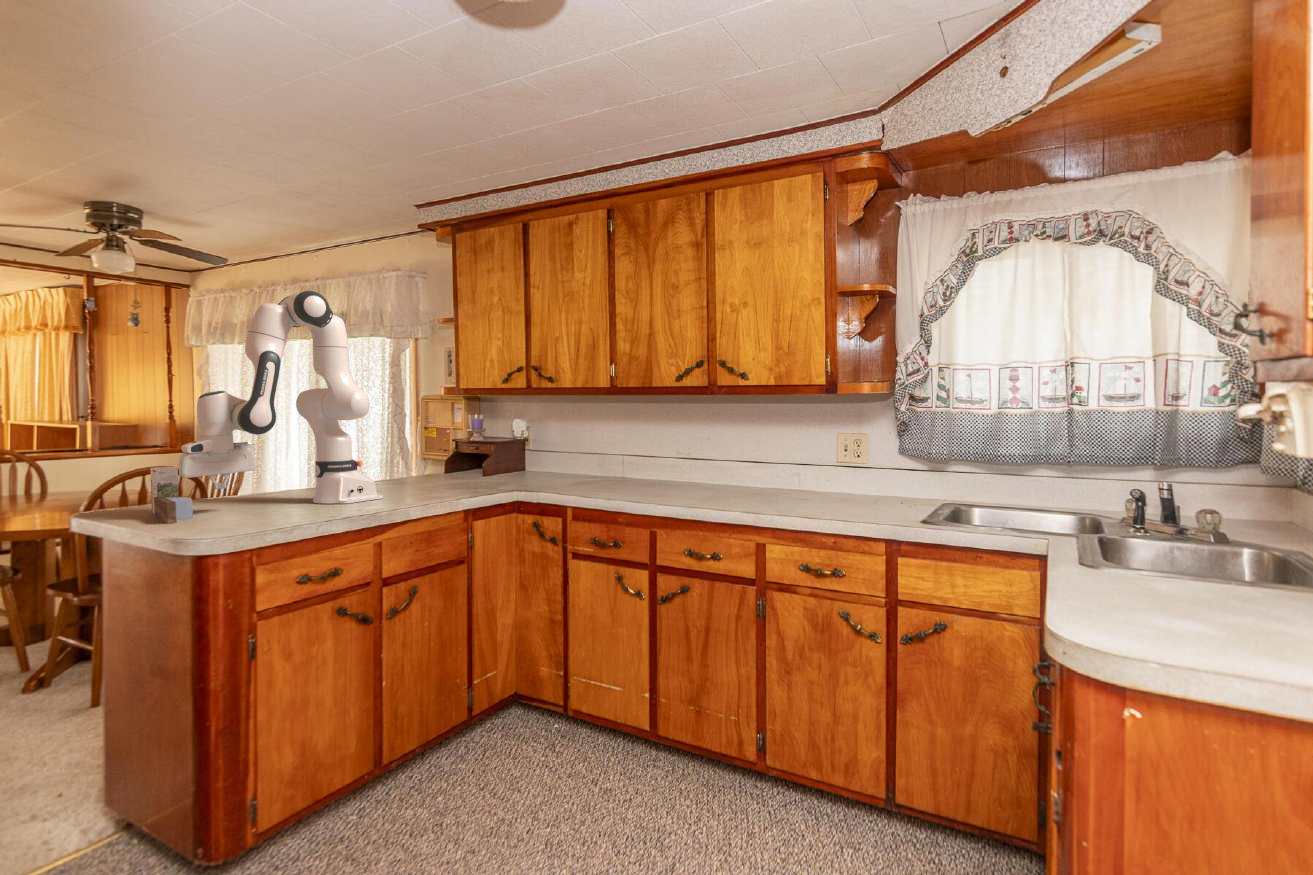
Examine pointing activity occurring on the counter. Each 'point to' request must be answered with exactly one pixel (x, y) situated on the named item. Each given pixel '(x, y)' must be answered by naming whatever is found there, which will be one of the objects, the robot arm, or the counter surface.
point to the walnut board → (165, 509)
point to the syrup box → (164, 483)
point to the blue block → (183, 508)
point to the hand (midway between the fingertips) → (220, 488)
